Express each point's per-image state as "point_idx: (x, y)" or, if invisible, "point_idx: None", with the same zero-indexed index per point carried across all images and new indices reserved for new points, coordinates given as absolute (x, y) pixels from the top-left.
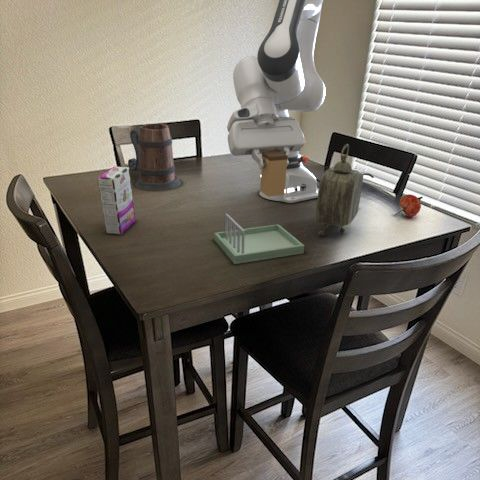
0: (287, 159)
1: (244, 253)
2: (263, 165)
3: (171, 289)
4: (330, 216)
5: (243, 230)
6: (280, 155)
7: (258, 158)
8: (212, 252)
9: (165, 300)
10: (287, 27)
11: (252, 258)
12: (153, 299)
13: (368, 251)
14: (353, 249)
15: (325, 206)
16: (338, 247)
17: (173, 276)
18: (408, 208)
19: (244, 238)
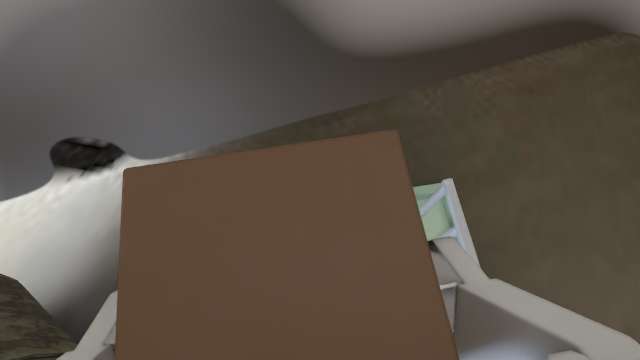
0: (96, 322)
1: (422, 192)
2: (428, 241)
3: (597, 98)
4: (33, 306)
5: (449, 182)
6: (229, 173)
7: (518, 293)
8: (507, 280)
9: (602, 60)
10: None
11: None
12: (628, 68)
13: (31, 201)
14: (64, 222)
15: (18, 323)
16: (100, 244)
17: (604, 153)
18: None
19: (434, 192)
